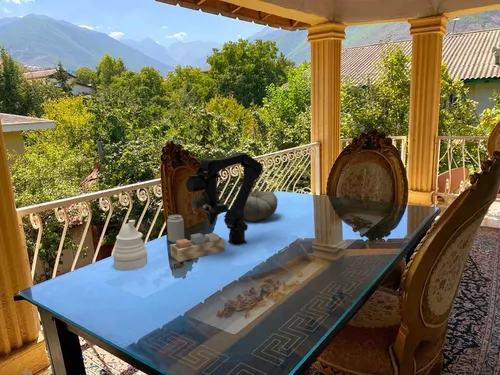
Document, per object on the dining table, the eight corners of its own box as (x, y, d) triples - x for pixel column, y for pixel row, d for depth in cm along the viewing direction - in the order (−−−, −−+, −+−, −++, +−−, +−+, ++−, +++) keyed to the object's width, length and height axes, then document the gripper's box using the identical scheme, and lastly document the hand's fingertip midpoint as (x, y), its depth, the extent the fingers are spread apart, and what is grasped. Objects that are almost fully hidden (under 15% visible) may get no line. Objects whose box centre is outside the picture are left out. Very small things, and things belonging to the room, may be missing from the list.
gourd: (287, 211, 218) (282, 182, 214) (266, 229, 199) (260, 198, 194) (251, 210, 232) (246, 183, 228) (228, 227, 213) (221, 198, 208)
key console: (216, 245, 172) (215, 234, 171) (225, 250, 165) (224, 239, 164) (171, 256, 160) (170, 244, 159) (178, 262, 153) (178, 250, 152)
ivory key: (214, 243, 169) (213, 232, 168) (219, 246, 165) (218, 235, 164) (205, 245, 166) (205, 234, 165) (210, 248, 163) (209, 237, 162)
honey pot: (153, 259, 156) (151, 217, 153) (134, 271, 144) (131, 226, 141) (127, 256, 160) (124, 214, 157) (107, 267, 149) (102, 223, 145)
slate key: (200, 244, 165) (200, 233, 164) (205, 247, 161) (204, 235, 160) (191, 246, 162) (190, 235, 161) (195, 249, 159) (195, 237, 158)
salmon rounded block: (186, 249, 161) (185, 238, 160) (190, 252, 158) (190, 241, 157) (176, 252, 159) (175, 240, 158) (180, 255, 155) (180, 243, 154)
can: (180, 243, 175) (179, 218, 172) (165, 242, 176) (164, 217, 174) (186, 238, 182) (185, 214, 179) (172, 237, 183) (170, 213, 181)
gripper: (183, 187, 164) (184, 222, 167) (203, 194, 149) (204, 233, 152) (206, 184, 170) (207, 218, 173) (227, 191, 155) (228, 228, 158)
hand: (211, 224), depth 164 cm, fingers closed
